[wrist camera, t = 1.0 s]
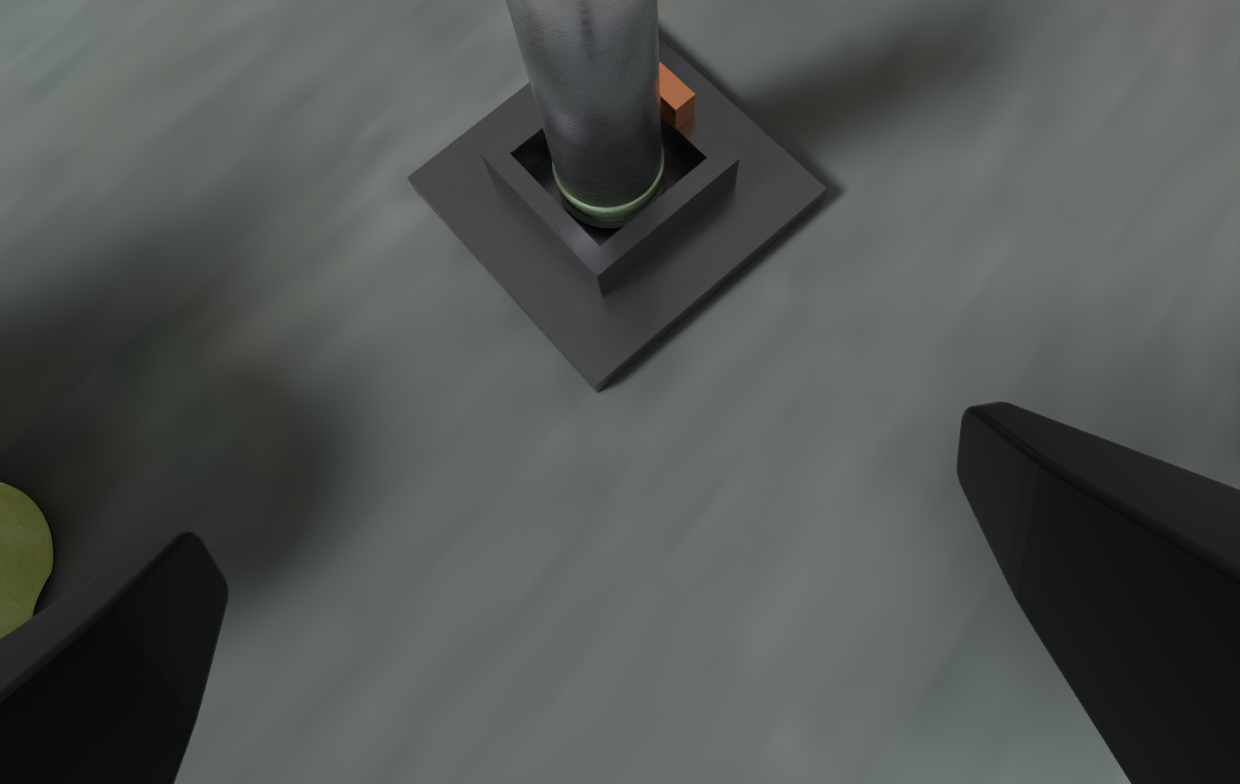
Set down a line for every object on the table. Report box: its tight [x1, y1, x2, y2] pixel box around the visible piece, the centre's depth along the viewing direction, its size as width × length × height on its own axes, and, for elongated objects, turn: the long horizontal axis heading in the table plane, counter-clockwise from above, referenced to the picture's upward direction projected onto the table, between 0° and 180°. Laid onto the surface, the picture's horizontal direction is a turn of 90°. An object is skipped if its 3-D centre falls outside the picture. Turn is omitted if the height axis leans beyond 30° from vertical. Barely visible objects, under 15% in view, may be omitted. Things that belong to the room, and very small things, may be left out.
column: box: [506, 0, 665, 228], centre depth 18 cm, size 4×4×12 cm
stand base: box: [407, 36, 827, 393], centre depth 23 cm, size 10×10×3 cm
